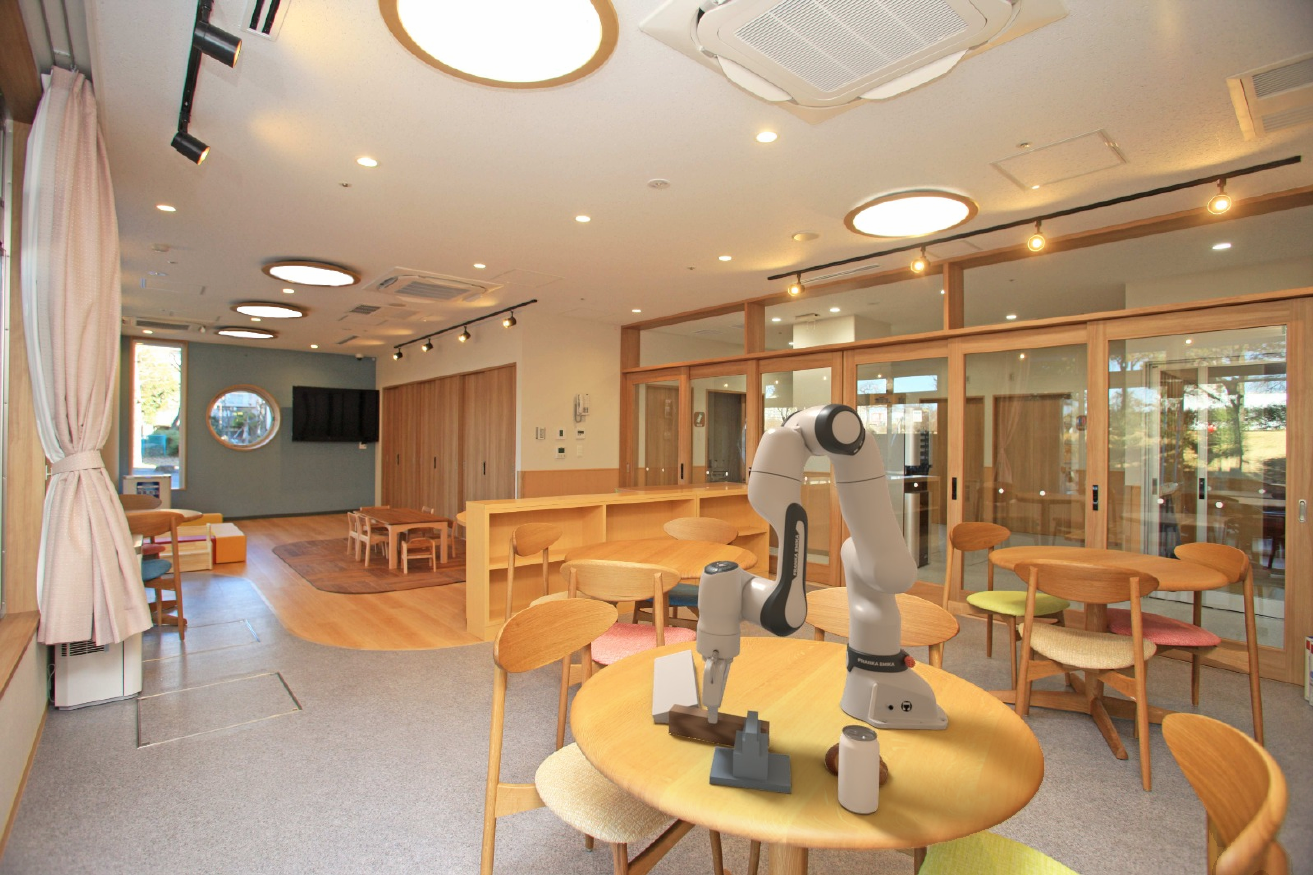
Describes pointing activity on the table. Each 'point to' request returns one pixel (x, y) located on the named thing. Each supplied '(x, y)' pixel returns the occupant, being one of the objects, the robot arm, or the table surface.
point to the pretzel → (833, 764)
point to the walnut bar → (707, 725)
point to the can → (858, 769)
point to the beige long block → (674, 684)
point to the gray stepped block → (751, 761)
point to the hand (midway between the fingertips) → (715, 711)
